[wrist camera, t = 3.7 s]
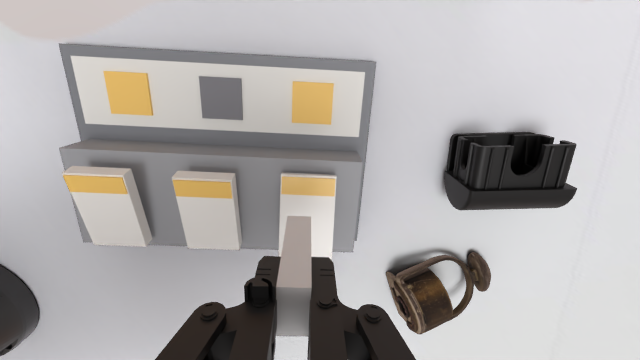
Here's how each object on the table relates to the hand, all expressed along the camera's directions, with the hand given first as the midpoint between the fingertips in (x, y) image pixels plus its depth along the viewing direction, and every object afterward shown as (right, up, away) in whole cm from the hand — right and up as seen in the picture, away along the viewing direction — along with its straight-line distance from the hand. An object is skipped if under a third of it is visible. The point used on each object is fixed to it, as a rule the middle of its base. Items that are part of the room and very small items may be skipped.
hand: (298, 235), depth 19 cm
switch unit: (-9, +7, +14) cm, 17 cm away
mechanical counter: (+16, -9, +20) cm, 27 cm away
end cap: (+20, +5, +15) cm, 26 cm away
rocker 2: (0, 0, +9) cm, 9 cm away
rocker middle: (-9, 0, +8) cm, 12 cm away
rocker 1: (-18, +1, +8) cm, 20 cm away
